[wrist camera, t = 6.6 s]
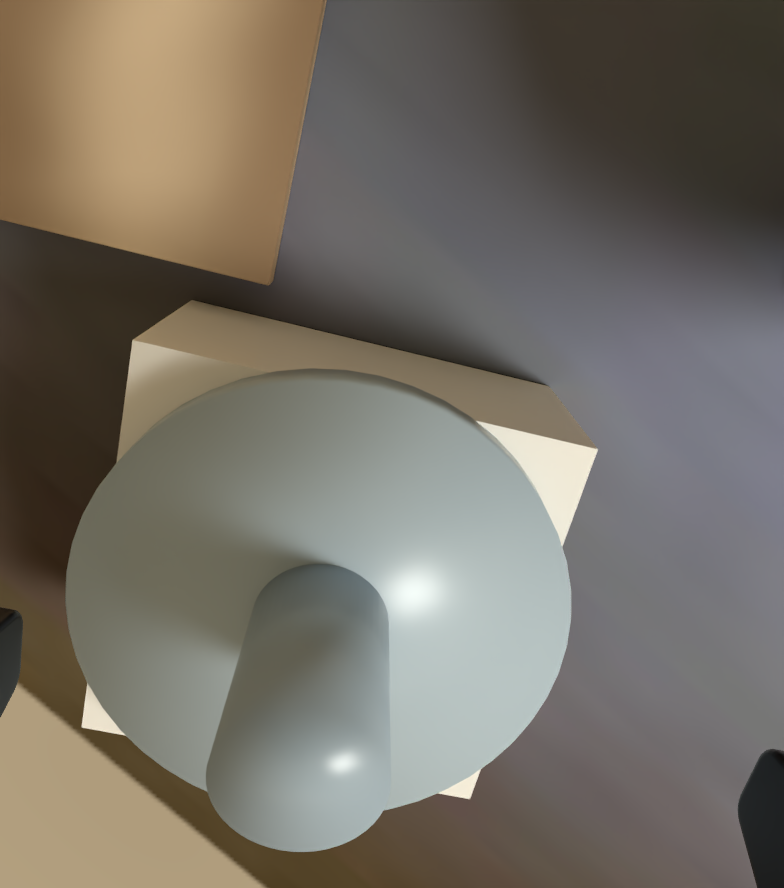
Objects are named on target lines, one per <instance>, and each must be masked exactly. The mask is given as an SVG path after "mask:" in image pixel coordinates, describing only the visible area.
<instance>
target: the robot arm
mask: <svg viewBox="0 0 784 888" xmlns="http://www.w3.org/2000/svg"><path fill="white" fill-rule="evenodd" d="M22 630H23V620H22V616H21V614H20V613H19V612H18V611H16V610H12V609H7V608H1V607H0V717H1V715H2V713H3V711H4V710H5V708H6V706H7V703H8V702H9V700H10V698H11V696H12V694H13V692H14V690H15V687H16V685H17V682H18V679H19V674H20V666H21V648H22ZM738 817H739V822H740V826H741V830H742V833H743V837H744V841H745V844H746V848H747V851H748V855H749V859H750V862H751V866H752V870H753V873H754V877H755V880H756V884H757V888H784V751H781V750H776V749H770V750H766V751H765V752H764V753H762V754H761V756H760V757H759V759H758V761H757V763H756V765H755V767H754V769H753V771H752V773H751V775H750V777H749V779H748V781H747V784H746V786H745V788H744V790H743V792H742V794H741V796H740V798H739V803H738Z"/></svg>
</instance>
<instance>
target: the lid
mask: <svg viewBox="0 0 784 888" xmlns="http://www.w3.org/2000/svg"><path fill="white" fill-rule="evenodd" d="M65 602H66V610H67V619H68V627H69V632H70V636H71V640H72V643H73V647H74V651H75V654H76V658H77V660H78V662H79V664H80V667H81V669H82V671H83V674H84V676H85V678H86V681H87V683H88V685H89V686H90V688H91V690H92V691H93V693H94V695H95V696H96V698H97V699H98V701H99V703H100V704H101V706H102V708H103V709H104V710H105V711H106V713H107V714H108V715H109V716H110V718H111V719H112V720H113V721H114V723H115V724H116V725H117V726H118V728H119V729H120V730H121V731H122V732H123V733H124V734H125V735H126V736H127V737H128V738H129V739H130V740H131V741H132V742H133V743H134V744H135V745H136V746H137V747H138V748H139V749H140V750H141V751H143V752H144V753H145V754H147V755H148V756H149V757H151V758H152V759H153V760H154V761H156V762H157V763H158V764H160V765H161V766H162V767H164V768H165V769H167V770H168V771H170V772H172V773H173V774H175V775H177V776H178V777H180V778H182V779H183V780H185V781H187V782H188V783H190V784H192V785H194V786H196V787H199V788H201V789H203V790H205V791H207V792H208V795H209V798H210V800H211V803H212V805H213V806H214V808H215V810H216V812H217V813H218V814H219V815H220V817H221V818H222V819H223V820H224V821H225V822H226V823H227V824H228V825H229V826H230V827H231V828H232V829H234V830H235V831H236V832H237V833H239V834H240V835H242V836H244V837H245V838H247V839H249V840H251V841H253V842H255V843H258V844H260V845H263V846H266V847H269V848H274V849H278V850H284V851H292V852H309V851H319V850H324V849H329V848H332V847H336V846H339V845H341V844H344V843H346V842H349V841H350V840H352V839H354V838H356V837H358V836H359V835H361V834H362V833H363V832H365V831H366V830H367V829H368V828H369V827H370V826H372V825H373V824H374V822H375V821H376V820H377V819H378V818H379V816H380V815H381V813H382V812H383V810H388V809H392V808H396V807H399V806H403V805H406V804H410V803H413V802H417V801H419V800H422V799H424V798H427V797H429V796H432V795H434V794H437V793H439V792H442V791H444V790H446V789H448V788H450V787H452V786H453V785H455V784H457V783H459V782H461V781H463V780H464V779H466V778H468V777H470V776H471V775H473V774H474V773H476V772H477V771H478V770H480V769H481V768H483V767H484V766H486V765H487V764H488V763H490V762H491V761H493V760H494V759H495V758H496V757H497V756H498V755H499V754H500V753H502V752H503V751H504V750H505V749H506V748H507V747H508V746H509V745H511V744H512V743H513V742H514V741H515V739H516V738H517V737H518V736H519V735H520V734H521V733H522V731H523V730H524V729H525V728H526V727H527V726H528V724H529V723H530V722H531V721H532V719H533V718H534V716H535V715H536V713H537V712H538V710H539V709H540V707H541V706H542V704H543V703H544V701H545V700H546V698H547V696H548V694H549V692H550V690H551V688H552V686H553V684H554V681H555V679H556V677H557V675H558V673H559V670H560V667H561V663H562V660H563V657H564V654H565V651H566V647H567V642H568V635H569V629H570V622H571V587H570V580H569V574H568V567H567V561H566V558H565V555H564V552H563V548H562V545H561V542H560V539H559V536H558V533H557V531H556V529H555V527H554V524H553V522H552V520H551V518H550V516H549V514H548V512H547V510H546V508H545V506H544V504H543V502H542V500H541V498H540V496H539V494H538V492H537V489H536V487H535V486H534V484H533V483H532V481H531V480H530V478H529V477H528V475H527V474H526V472H525V471H524V470H523V468H522V467H521V465H520V464H519V462H518V461H517V460H516V459H515V458H514V456H513V455H512V454H511V453H510V452H509V451H508V450H507V449H506V448H505V447H504V446H503V444H502V443H501V442H500V441H499V440H498V439H497V438H496V437H495V436H494V435H492V434H491V433H490V432H489V431H488V430H486V429H485V428H484V427H483V426H482V425H480V424H479V423H478V422H477V421H476V420H474V419H473V418H472V417H470V416H469V415H467V414H465V413H464V412H462V411H461V410H459V409H457V408H456V407H454V406H453V405H451V404H449V403H448V402H446V401H445V400H443V399H441V398H438V397H436V396H434V395H432V394H430V393H427V392H425V391H423V390H421V389H419V388H416V387H414V386H412V385H408V384H405V383H402V382H399V381H395V380H392V379H389V378H386V377H382V376H378V375H373V374H367V373H361V372H355V371H349V370H338V369H315V368H309V369H297V370H285V371H275V372H270V373H266V374H261V375H256V376H252V377H247V378H242V379H240V380H237V381H234V382H231V383H228V384H226V385H223V386H220V387H217V388H215V389H212V390H209V391H208V392H206V393H204V394H202V395H200V396H198V397H196V398H194V399H192V400H190V401H188V402H186V403H184V404H183V405H181V406H179V407H178V408H177V409H175V410H174V411H172V412H171V413H170V414H168V415H167V416H165V417H164V418H163V419H161V420H160V421H158V422H157V423H156V424H154V425H153V426H152V427H151V428H150V429H149V430H148V431H147V432H146V433H145V434H144V435H143V436H142V437H141V438H140V439H139V440H138V441H137V442H136V443H135V444H133V445H132V447H131V448H130V449H129V450H128V451H127V452H126V453H125V454H124V455H123V456H122V458H121V459H120V460H119V461H118V462H117V463H116V464H115V466H114V467H113V468H112V470H111V471H110V472H109V473H108V475H107V476H106V477H105V479H104V480H103V481H102V482H101V484H100V485H99V486H98V488H97V489H96V491H95V493H94V495H93V497H92V498H91V500H90V502H89V504H88V506H87V507H86V509H85V511H84V513H83V515H82V517H81V520H80V523H79V525H78V528H77V531H76V534H75V536H74V539H73V542H72V546H71V551H70V556H69V561H68V566H67V572H66V598H65Z"/></svg>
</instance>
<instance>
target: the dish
mask: <svg viewBox="0 0 784 888" xmlns="http://www.w3.org/2000/svg"><path fill="white" fill-rule="evenodd" d="M309 368H315V369H338V370H349V371H355V372H361V373H367V374H373V375H378V376H382V377H386V378H389V379H392V380H395V381H399V382H402V383H405V384H408V385H412V386H414V387H416V388H419V389H421V390H423V391H425V392H427V393H430V394H432V395H434V396H436V397H438V398H441V399H443V400H445V401H446V402H448V403H449V404H451V405H453V406H454V407H456V408H457V409H459V410H461V411H462V412H464V413H465V414H467V415H469V416H470V417H472V418H473V419H474V420H476V421H477V422H478V423H479V424H480V425H482V426H483V427H484V428H485V429H486V430H488V431H489V432H490V433H491V434H492V435H494V436H495V437H496V438H497V439H498V440H499V441H500V442H501V443H502V444H503V446H504V447H505V448H506V449H507V450H508V451H509V452H510V453H511V454H512V455H513V456H514V458H515V459H516V460H517V461H518V462H519V464H520V465H521V467H522V468H523V470H524V471H525V472H526V474H527V475H528V477H529V478H530V480H531V481H532V483H533V484H534V486H535V487H536V489H537V492H538V494H539V496H540V498H541V500H542V502H543V504H544V506H545V508H546V510H547V512H548V514H549V516H550V518H551V520H552V522H553V524H554V527H555V529H556V531H557V533H558V536H559V539H560V542H561V545H562V546H563V543H564V541H565V538H566V535H567V532H568V530H569V527H570V524H571V522H572V519H573V516H574V513H575V511H576V508H577V505H578V502H579V500H580V497H581V494H582V492H583V489H584V486H585V483H586V481H587V478H588V475H589V472H590V470H591V467H592V464H593V461H594V459H595V456H596V453H597V451H598V449H597V447H596V446H595V445H594V444H593V442H592V441H591V440H590V438H589V437H588V436H587V435H586V433H585V432H584V431H583V429H582V428H581V427H580V426H579V424H578V423H577V422H576V420H575V419H574V418H573V417H572V415H571V414H570V413H569V411H568V410H567V409H566V407H565V406H564V405H563V404H562V402H561V401H560V400H559V398H558V397H557V396H556V395H555V393H554V392H553V391H552V389H551V388H550V387H549V386H546V385H541V384H537V383H533V382H529V381H525V380H521V379H517V378H513V377H508V376H504V375H500V374H496V373H492V372H488V371H484V370H479V369H475V368H471V367H467V366H463V365H459V364H455V363H451V362H446V361H442V360H438V359H434V358H430V357H426V356H422V355H417V354H413V353H409V352H405V351H401V350H397V349H393V348H389V347H384V346H380V345H376V344H372V343H368V342H364V341H360V340H355V339H351V338H347V337H343V336H339V335H335V334H331V333H327V332H322V331H318V330H314V329H310V328H306V327H302V326H298V325H293V324H289V323H285V322H281V321H277V320H273V319H269V318H265V317H260V316H256V315H252V314H248V313H244V312H240V311H236V310H231V309H227V308H223V307H219V306H215V305H211V304H207V303H203V302H198V301H194V300H191V301H189V302H188V303H186V304H185V305H184V306H182V307H181V308H179V309H178V310H176V311H175V312H173V313H172V314H170V315H169V316H167V317H166V318H164V319H163V320H161V321H160V322H158V323H157V324H155V325H154V326H152V327H151V328H150V329H148V330H147V331H145V332H144V333H142V334H141V335H139V336H138V337H136V338H135V339H133V340H132V348H131V356H130V363H129V371H128V378H127V386H126V394H125V401H124V409H123V416H122V424H121V432H120V439H119V447H118V455H117V462H118V461H119V460H120V459H121V458H122V456H123V455H124V454H125V453H126V452H127V451H128V450H129V449H130V448H131V447H132V445H133V444H135V443H136V442H137V441H138V440H139V439H140V438H141V437H142V436H143V435H144V434H145V433H146V432H147V431H148V430H149V429H150V428H151V427H152V426H153V425H154V424H156V423H157V422H158V421H160V420H161V419H163V418H164V417H165V416H167V415H168V414H170V413H171V412H172V411H174V410H175V409H177V408H178V407H179V406H181V405H183V404H184V403H186V402H188V401H190V400H192V399H194V398H196V397H198V396H200V395H202V394H204V393H206V392H208V391H209V390H212V389H215V388H217V387H220V386H223V385H226V384H228V383H231V382H234V381H237V380H240V379H242V378H247V377H252V376H256V375H261V374H266V373H270V372H275V371H285V370H297V369H309ZM117 462H116V463H117ZM82 727H83V728H88V729H94V730H99V731H104V732H110V733H115V734H121V735H125V734H124V733H123V732H122V731H121V730H120V729H119V728H118V726H117V725H116V724H115V723H114V721H113V720H112V719H111V718H110V716H109V715H108V714H107V713H106V711H105V710H104V709H103V708H102V706H101V704H100V703H99V701H98V699H97V698H96V696H95V695H94V693H93V691H92V690H91V688H90V686H89V685H88V683H87V691H86V698H85V706H84V714H83V721H82ZM480 770H481V769H480ZM480 770H478V771H477V772H476V773H474V774H473V775H471V776H470V777H468V778H466V779H464V780H463V781H461V782H459V783H457V784H455V785H453V786H452V787H450V788H448V789H446V790H444V791H442V792H439V793H440V794H445V795H450V796H456V797H461V798H467V799H470V797H471V795H472V792H473V789H474V786H475V784H476V781H477V778H478V775H479V773H480Z"/></svg>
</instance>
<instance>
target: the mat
mask: <svg viewBox="0 0 784 888" xmlns="http://www.w3.org/2000/svg"><path fill="white" fill-rule="evenodd" d="M326 1H327V0H0V220H4V221H8V222H12V223H16V224H21V225H25V226H29V227H33V228H37V229H41V230H45V231H49V232H53V233H57V234H61V235H65V236H69V237H73V238H77V239H81V240H86V241H90V242H94V243H98V244H102V245H106V246H110V247H114V248H118V249H122V250H126V251H130V252H134V253H138V254H142V255H146V256H151V257H155V258H159V259H163V260H167V261H171V262H175V263H179V264H183V265H187V266H191V267H195V268H199V269H203V270H207V271H212V272H216V273H220V274H224V275H228V276H232V277H236V278H240V279H244V280H248V281H252V282H256V283H260V284H264V285H268V286H269V285H270V284H271V283H272V282H273V278H274V273H275V268H276V263H277V258H278V252H279V247H280V242H281V237H282V231H283V226H284V221H285V216H286V211H287V205H288V200H289V195H290V190H291V184H292V179H293V174H294V169H295V163H296V158H297V153H298V148H299V143H300V137H301V132H302V127H303V122H304V116H305V111H306V106H307V101H308V96H309V90H310V85H311V80H312V75H313V69H314V64H315V59H316V54H317V49H318V43H319V38H320V33H321V28H322V22H323V17H324V12H325V7H326Z"/></svg>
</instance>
